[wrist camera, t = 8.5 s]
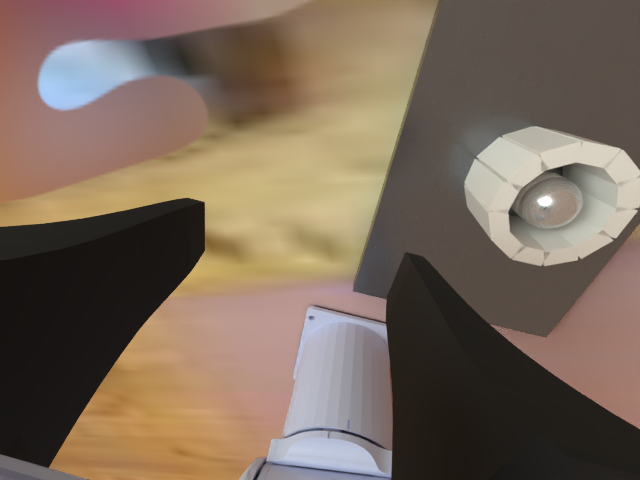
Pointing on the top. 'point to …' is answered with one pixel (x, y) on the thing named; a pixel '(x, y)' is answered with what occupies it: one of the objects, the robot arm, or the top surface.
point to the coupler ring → (578, 166)
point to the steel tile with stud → (491, 123)
